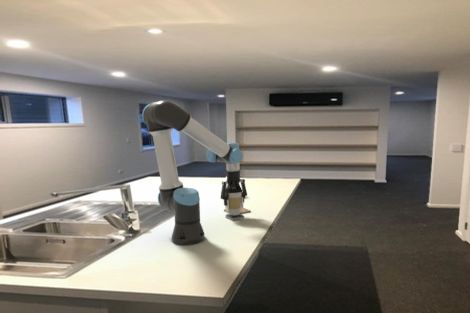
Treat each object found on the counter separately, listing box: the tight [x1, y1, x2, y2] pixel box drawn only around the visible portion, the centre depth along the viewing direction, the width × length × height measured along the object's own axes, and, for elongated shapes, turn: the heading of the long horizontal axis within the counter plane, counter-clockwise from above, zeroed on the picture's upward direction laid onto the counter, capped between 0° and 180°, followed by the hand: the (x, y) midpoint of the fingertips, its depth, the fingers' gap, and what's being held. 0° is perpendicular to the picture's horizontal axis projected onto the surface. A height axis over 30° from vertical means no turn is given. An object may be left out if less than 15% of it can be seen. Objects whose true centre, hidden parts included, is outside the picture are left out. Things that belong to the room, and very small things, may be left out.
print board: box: [223, 207, 252, 215], centre depth 195 cm, size 12×12×1 cm
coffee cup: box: [225, 186, 243, 215], centre depth 181 cm, size 10×10×15 cm
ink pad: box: [224, 213, 245, 221], centre depth 182 cm, size 8×8×2 cm
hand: (234, 209), depth 181 cm, fingers closed on coffee cup, 9 cm apart
